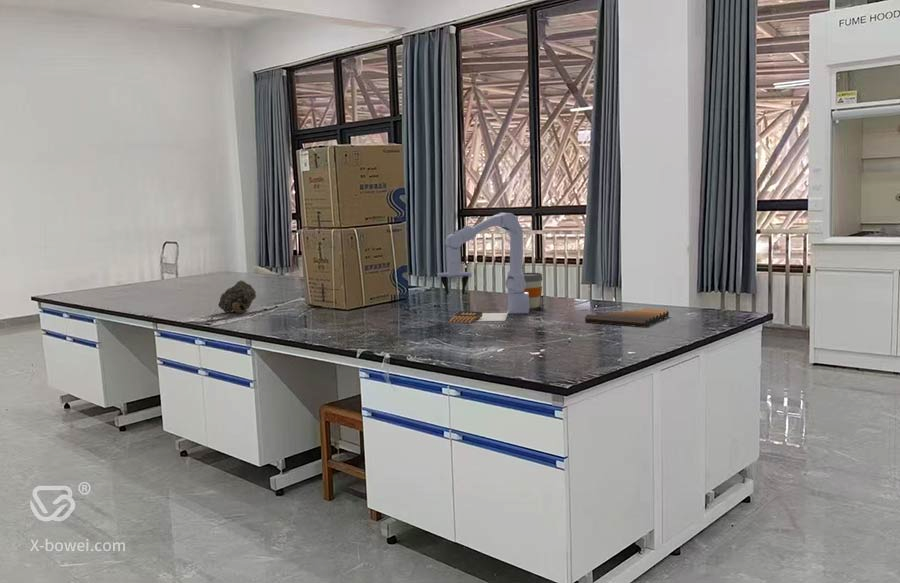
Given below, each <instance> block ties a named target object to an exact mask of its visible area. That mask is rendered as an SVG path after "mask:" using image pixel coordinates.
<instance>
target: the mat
mask: <svg viewBox="0 0 900 583" xmlns="http://www.w3.org/2000/svg"><path fill="white" fill-rule="evenodd" d="M508 315H509V314H508V313H507V312H493V313H492V312H490V313H489V312H485V313H483V312H482V317H480V318H479V319H478V320H475V321H474V322H476V323H477V322H505V321H506V319H507V318H508Z"/></svg>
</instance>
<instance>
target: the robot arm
mask: <svg viewBox="0 0 900 583" xmlns="http://www.w3.org/2000/svg"><path fill="white" fill-rule="evenodd" d="M494 226H495V227H499V228H501V229H504V230H505V231H506V232H507V233H508V234H509V235H510V237H509V239H510V242H509V270H508V272H507V276H506V279H505V287H506V288H507V311H506V313H508V315H510V314H529V313H530V309H531V308H530V305H529V293H528V292H524V290H525V288H526V282H525V280H524V274H523V273H524V272H523V270H522V269H523V238H524V236H523V233H524V232H523V228H522V225H521V224H520V222H519V218H518V217H517V216H516V215H515V214H514V213H511V212H498V213H497V214H494V215H491V216H490V217H489V218H487V219H486V218H485V219H484V220H483V221H481V222H480V223H478V224H476V225H474V226H472V225H465V226H463V227H462V229H459V230H456V231H454V233H452V234H448V235H447V236H446V237H445V239H444V244H445V246H446V249H447V250H446V256H447V257H446V258H447V272H438V273H437V279H440V281H441V283H442V285H443V287H444V290H445V294H446V295H447V296H448V295H449V293H450V292H449V289H450V288H449V278H461V286H462V288H461V289H462V291H461V293H462V295H465V294H466V293H465V292H466V286H467V284H468V281H469V278H472V277H473V274H472V273H473V272H472V271H468V272H467V271H462V256H461V254H462V253H461V247H462V245H463V244H465V243H467V242H470V241H471V240H473V239H475V238H476V237H477V234H479V233H480V232H483V231H485V230H488V229H490V228H491V227H494Z"/></svg>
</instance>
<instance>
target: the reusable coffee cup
mask: <svg viewBox="0 0 900 583" xmlns="http://www.w3.org/2000/svg"><path fill="white" fill-rule="evenodd" d="M523 274H524V280H525V282H526V288H525V290H524V292H528V293H529V305H530V309H536V308H539V307H540V301H541V297H542V291H543V285H542V284H543V283H542V281H543V274H542V273H541V272H523Z"/></svg>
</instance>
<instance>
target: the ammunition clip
mask: <svg viewBox="0 0 900 583" xmlns="http://www.w3.org/2000/svg"><path fill="white" fill-rule="evenodd" d="M482 313H483V312H482V311H467V310H466V311H465V310H459V311H458V312H456V313H455V315H454V316H453V317H452V318H451V319H450V320H449V321H448V324H451V323H452V324H468V325H469V324H472V323H473V322H475V320H478V319H479V318H480V317H482Z"/></svg>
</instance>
